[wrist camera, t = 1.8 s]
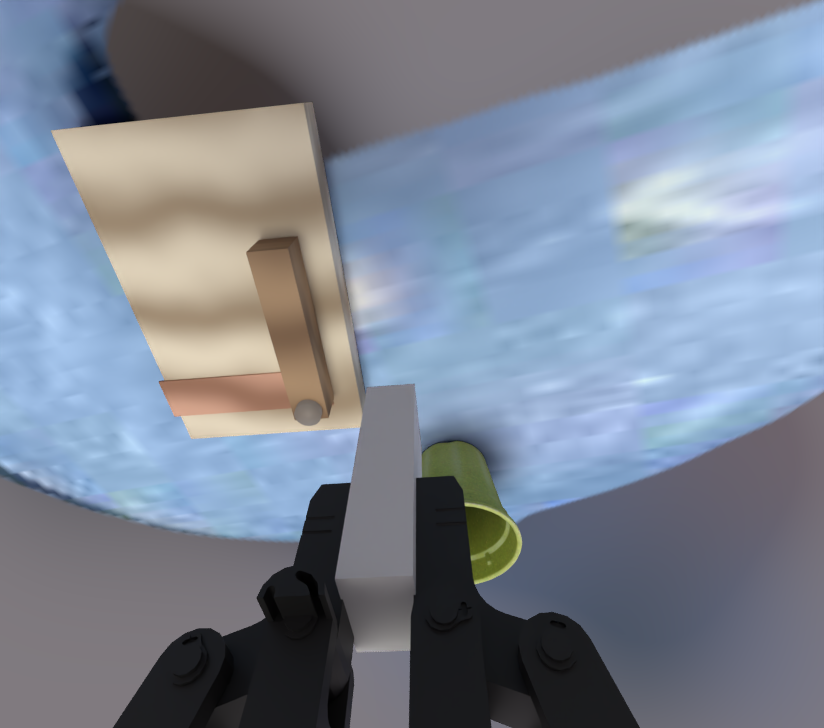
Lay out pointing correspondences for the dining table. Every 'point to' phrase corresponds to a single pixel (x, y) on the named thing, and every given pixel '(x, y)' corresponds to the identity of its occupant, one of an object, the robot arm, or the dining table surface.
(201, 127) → the stool seat
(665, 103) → the dining table surface
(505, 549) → the plant pot
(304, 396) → the folding leg
